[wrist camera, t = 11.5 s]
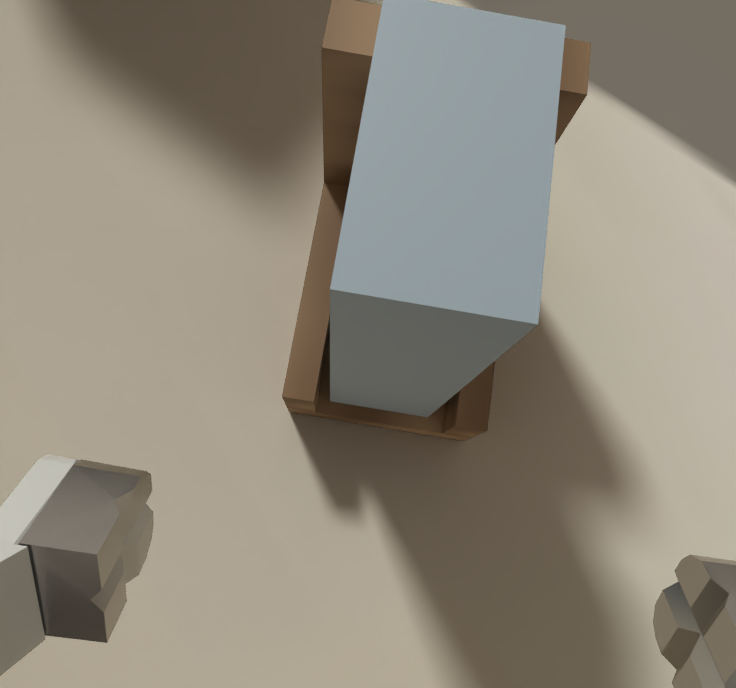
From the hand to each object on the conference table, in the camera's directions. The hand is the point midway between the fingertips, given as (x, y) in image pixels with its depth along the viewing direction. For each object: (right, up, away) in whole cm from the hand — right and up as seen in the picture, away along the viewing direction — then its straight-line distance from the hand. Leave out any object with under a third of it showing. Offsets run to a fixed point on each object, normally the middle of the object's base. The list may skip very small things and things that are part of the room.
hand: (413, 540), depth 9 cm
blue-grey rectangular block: (0, +4, +13) cm, 14 cm away
